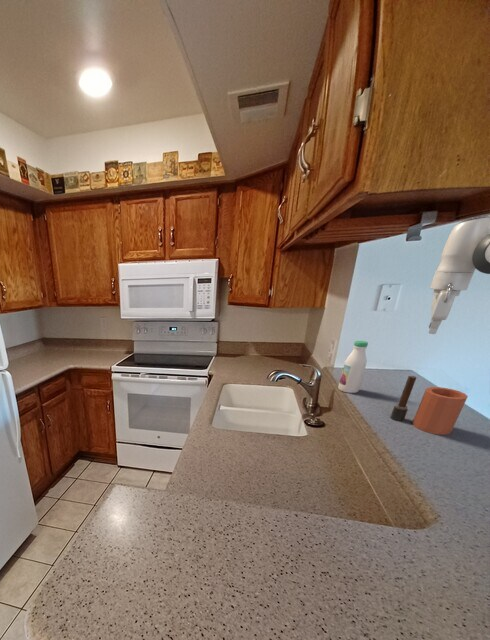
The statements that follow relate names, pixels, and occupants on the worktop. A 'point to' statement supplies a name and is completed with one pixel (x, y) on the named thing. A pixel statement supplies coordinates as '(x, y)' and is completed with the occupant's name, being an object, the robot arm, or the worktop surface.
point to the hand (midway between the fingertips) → (431, 331)
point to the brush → (403, 400)
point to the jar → (439, 410)
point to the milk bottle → (354, 368)
